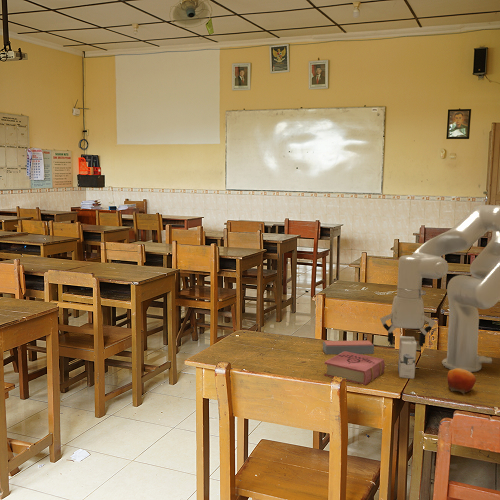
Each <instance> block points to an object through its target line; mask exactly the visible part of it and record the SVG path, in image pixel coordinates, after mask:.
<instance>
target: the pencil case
mask: <svg viewBox="0 0 500 500" xmlns="http://www.w3.org/2000/svg"><path fill="white" fill-rule="evenodd" d="M322 351H323V352H324V354H325V355H339V354H340V353H342V352H344V351H346V352H351V353H356V354H361V355H366V354H367V355H368V354H371V355H372V354H373V355H374V354H375V345H374V344H373V343H372V342H371V341H370V340H324V341H323V342H322Z"/></svg>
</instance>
